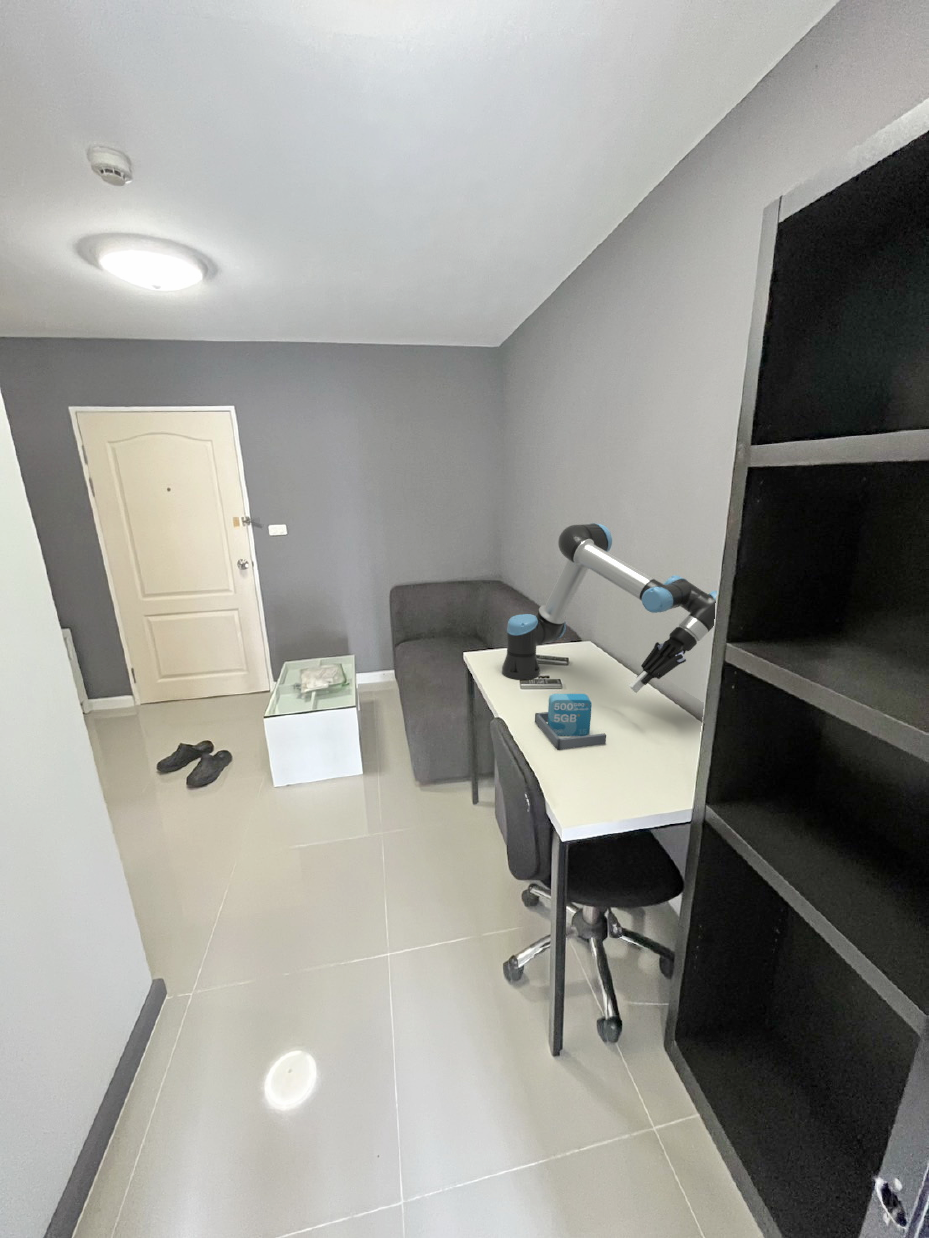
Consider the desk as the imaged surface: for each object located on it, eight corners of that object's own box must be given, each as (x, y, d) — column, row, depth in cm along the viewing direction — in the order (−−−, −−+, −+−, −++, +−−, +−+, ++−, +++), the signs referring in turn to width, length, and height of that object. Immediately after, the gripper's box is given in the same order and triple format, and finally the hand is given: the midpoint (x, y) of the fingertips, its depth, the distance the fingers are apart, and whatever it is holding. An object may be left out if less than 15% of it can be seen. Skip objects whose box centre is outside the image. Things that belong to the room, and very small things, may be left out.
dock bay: (534, 721, 155) (535, 713, 154) (578, 717, 158) (578, 708, 157) (557, 750, 138) (558, 740, 137) (605, 744, 141) (606, 734, 140)
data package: (549, 736, 146) (551, 699, 143) (547, 729, 150) (548, 693, 147) (589, 736, 146) (592, 699, 143) (585, 729, 150) (588, 693, 147)
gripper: (708, 648, 143) (651, 705, 143) (680, 635, 155) (628, 688, 156) (695, 632, 140) (637, 690, 141) (667, 620, 152) (614, 674, 153)
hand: (632, 689), depth 148 cm, fingers closed
